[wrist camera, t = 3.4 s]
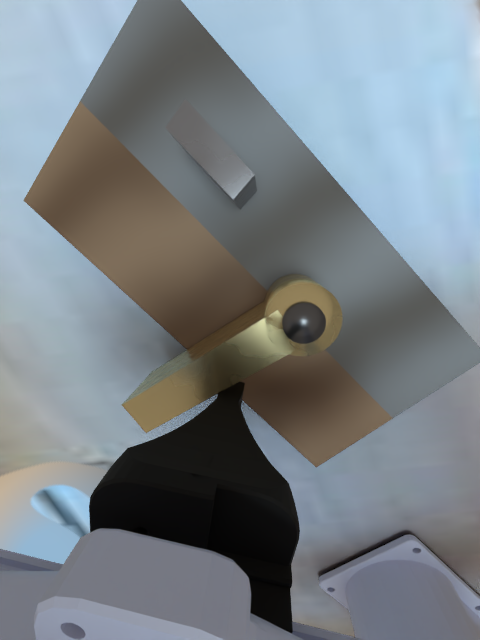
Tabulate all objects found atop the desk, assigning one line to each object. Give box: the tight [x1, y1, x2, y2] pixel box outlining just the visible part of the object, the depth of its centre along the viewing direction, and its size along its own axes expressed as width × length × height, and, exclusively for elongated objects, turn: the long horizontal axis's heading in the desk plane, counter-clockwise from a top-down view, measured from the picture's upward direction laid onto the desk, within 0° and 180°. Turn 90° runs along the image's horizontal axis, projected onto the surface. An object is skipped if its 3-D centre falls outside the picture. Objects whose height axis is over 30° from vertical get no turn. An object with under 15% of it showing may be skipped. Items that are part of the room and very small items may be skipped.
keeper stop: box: [165, 99, 257, 210], centre depth 9 cm, size 3×1×2 cm, turn 45°
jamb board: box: [24, 0, 480, 467], centre depth 12 cm, size 20×10×1 cm, turn 46°
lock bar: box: [122, 274, 343, 433], centre depth 10 cm, size 9×3×3 cm, turn 124°
